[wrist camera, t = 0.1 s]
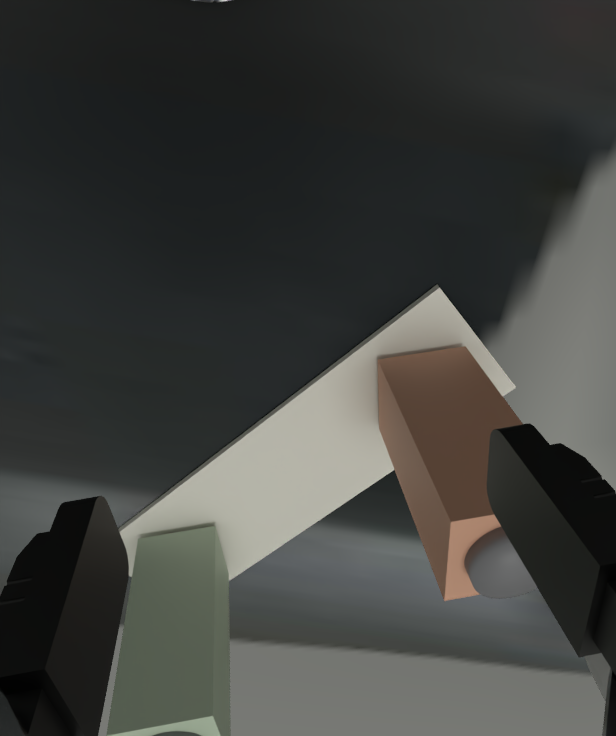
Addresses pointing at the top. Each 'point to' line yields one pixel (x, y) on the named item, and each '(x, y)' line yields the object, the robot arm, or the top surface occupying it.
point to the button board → (306, 447)
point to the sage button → (175, 640)
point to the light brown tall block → (450, 467)
